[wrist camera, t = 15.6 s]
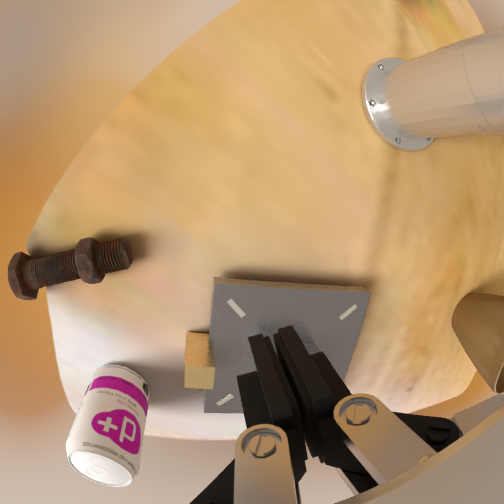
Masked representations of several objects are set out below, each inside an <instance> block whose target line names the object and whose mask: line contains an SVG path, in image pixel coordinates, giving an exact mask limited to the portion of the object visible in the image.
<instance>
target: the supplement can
mask: <svg viewBox="0 0 504 504" xmlns="http://www.w3.org/2000/svg"><path fill="white" fill-rule="evenodd" d="M149 397H150V391H149V386H148V384H147V383H146V382H145V380H144V379H143V378H142V377H141V376H140V375H139V374H137V373H136V372H135V371H133V370H131V369H129V368H127V367H125V366H119V365H114V364H113V365H104V366H102V367H101V368H99V369H97V370H96V372H95V373H94V375H93V377H92V379H91V382H90V384H89V386H88V389H87V391H86V393H85V396H84V398H83V400H82V403H81V405H80V408H79V410H78V413H77V415H76V418H75V420H74V423H73V426H72V428H71V431H70V434H69V437H68V439H67V442H66V450H67V454H68V462H69V464H70V465H71V467H72V468H73V469H74V470H75V471H76V472H78V473H79V474H80V475H82V476H83V477H85V478H87V479H89V480H91V481H93V482H96V483H98V484H102V485H106V486H111V487H122V486H127V485H128V484H130V483H131V481H132V479H133V478H134V477H135V476H136V475H137V474H138V472H139V466H140V458H141V450H142V443H143V436H144V429H145V422H146V416H147V409H148V403H149Z"/></svg>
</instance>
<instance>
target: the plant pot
mask: <svg viewBox="0 0 504 504" xmlns="http://www.w3.org/2000/svg"><path fill="white" fill-rule="evenodd" d="M452 327H453V330H454V332H455V333H456V335H457V337H458V339H459V341H460V343H461V345H462V346H463V348H464V350H465V352H466V353H467V355H468V356H469V358H470V360H471V361H472V363H473V364H474V366H475V367H476V369H477V370H478V371H479V373H480V374H481V375H482V377H483V378H484V380H485V381H486V382H487V383H488V385H489V386H490V387H491V389H492V390H493V391H494V392H495V394H497V395H499V394H502V393H504V296H499V295H491V294H468V295H466V296H465V297H464V298H463V299H462V300H461V301H460V302H459V304H458V305H457V307H456V309H455V311H454V314H453V317H452Z"/></svg>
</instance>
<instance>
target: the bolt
mask: <svg viewBox="0 0 504 504" xmlns="http://www.w3.org/2000/svg"><path fill="white" fill-rule="evenodd" d="M130 264H132V255H131V251H130V247H129V245H128V243H127V241H126V240H124V239H123V238H122V239H119V240H118V239H117V240H116V241H115V240H113V241H110V242H109V241H108V242H105V243H101V244H100V243H99V242H98V241H97V240H95V239H93V238H90V237H89V238H85V239H81V240H80V241H79V242H78V244H77V246H76V249H75V250H70V251H67V252H63V253H58V254H55V255H51V256H47V257H43V258H39V259H34V258H33V257H31V256H29V255H27V254H25V253H23V252H19V253H16V254H14V256H13V257H12V259H11V261H10V263H9V266H8V280H9V284H10V287H11V289H12V291H13V293H14V294H15V296H16V297H17V298H20V299H24V300H33V299H36V298H37V294H38V290H39V288H42V287H44V286H49V285H54V284H59V283H64V282H68V281H73V280H76V279H82V280H83V281H84V282H86V283H90V284H95V283H100V282H102V280H103V278H104V277H105V273H108V272H109V273H110V272H113V271H119V270H122V269H128V268H129V267H130V266H131V265H130Z"/></svg>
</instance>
